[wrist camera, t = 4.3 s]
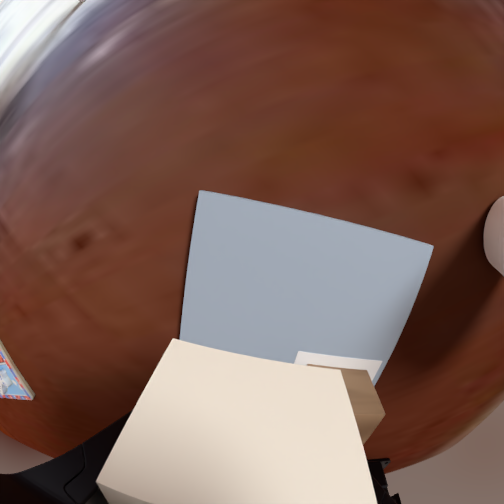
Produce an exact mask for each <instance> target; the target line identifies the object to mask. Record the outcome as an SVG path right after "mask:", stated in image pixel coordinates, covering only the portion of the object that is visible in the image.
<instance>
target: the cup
mask: <svg viewBox="0 0 504 504" xmlns="http://www.w3.org/2000/svg"><path fill="white" fill-rule="evenodd" d="M483 237H484V250H485V254H486V257H487V259H488V261H489V263H490V264H491V265H492V266H493V267H494V268H495V269H497V270H498V271H499V272H500V273H501V274H502V275H503V276H504V196H502V197H501V198H499V199H498V200H497V201H496V202H495V203H494V204H493V206H492V207H491V209H490V211H489V213H488V216H487V219H486V222H485V226H484V235H483Z"/></svg>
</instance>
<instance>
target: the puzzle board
mask: <svg viewBox="0 0 504 504" xmlns="http://www.w3.org/2000/svg"><path fill="white" fill-rule="evenodd" d="M34 396H35V393H34V392H33V390H32V389H31V388H30V386H29V385H28V383H27V382H26V380H25V379H24V377H23V376H22V374H21V373H20V371H19V370H18V368H17V367H16V365H15V364H14V362H13V360H12V359H11V357H10V356H9V354H8V352H7V350H6V349H5V347H4V345H3V344H2V342H1V340H0V398H10V399H22V400H33V398H34Z"/></svg>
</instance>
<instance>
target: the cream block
mask: <svg viewBox="0 0 504 504" xmlns="http://www.w3.org/2000/svg"><path fill="white" fill-rule="evenodd" d="M96 483H97V484H98V486H99V488H100V490H101V491H102V493H103V495H104V497H105V498H106V500H107V501H108V503H109V504H377V500H376V496H375V492H374V487H373V483H372V479H371V475H370V471H369V467H368V463H367V460H366V456H365V452H364V448H363V445H362V441H361V437H360V434H359V430H358V427H357V423H356V420H355V416H354V413H353V409H352V406H351V403H350V399H349V396H348V393H347V389H346V386H345V383H344V380H343V377H342V373H341V370H338V369H329V368H321V367H313V366H306V365H299V364H292V363H286V362H280V361H274V360H268V359H262V358H257V357H252V356H247V355H242V354H237V353H232V352H227V351H223V350H218V349H214V348H210V347H205V346H201V345H197V344H193V343H189V342H185V341H181V340H178V339H174V338H173V339H172V341H171V342H170V344H169V346H168V348H167V350H166V351H165V353H164V355H163V357H162V358H161V360H160V362H159V364H158V366H157V367H156V369H155V371H154V373H153V375H152V376H151V378H150V380H149V382H148V384H147V385H146V387H145V389H144V391H143V393H142V395H141V396H140V398H139V400H138V402H137V404H136V406H135V407H134V409H133V411H132V413H131V415H130V417H129V419H128V420H127V422H126V424H125V426H124V428H123V430H122V432H121V434H120V436H119V437H118V439H117V441H116V443H115V445H114V447H113V449H112V451H111V453H110V455H109V457H108V459H107V460H106V462H105V464H104V466H103V468H102V470H101V472H100V474H99V476H98V478H97V480H96Z"/></svg>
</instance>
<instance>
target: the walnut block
mask: <svg viewBox="0 0 504 504" xmlns="http://www.w3.org/2000/svg"><path fill="white" fill-rule="evenodd" d="M307 366H313V367H321V368H329V369H338V370H341V373H342V377H343V380H344V383H345V386H346V389H347V393H348V396H349V399H350V403H351V406H352V409H353V413H354V416H355V420H356V423H357V427H358V430H359V434H360V437H361V441H362V445H363V444H364V443H365V442H366V440H367V439H368V438H369V436H370V435H371V434H372V432H373V431H374V430H375V428H376V427H377V426H378V424H379V423H380V421H381V420H382V418H383V417H384V416H385V412H384V409H383V407H382V405H381V402H380V400H379V397H378V395H377V392H376V390H375V388H374V385H373V383H372V381H371V378H370V376H369V374H368V371H367V370H359V369H348V368H338V367H329V366H321V365H313V364H307Z"/></svg>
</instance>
